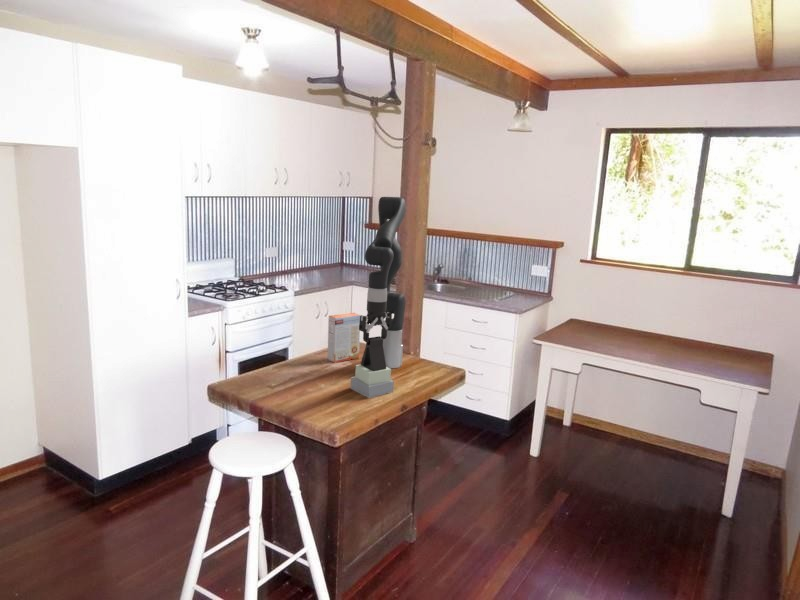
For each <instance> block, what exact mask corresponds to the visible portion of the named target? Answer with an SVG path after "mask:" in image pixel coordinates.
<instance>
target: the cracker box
mask: <svg viewBox="0 0 800 600" xmlns="http://www.w3.org/2000/svg"><path fill="white" fill-rule="evenodd" d="M360 316H361V314H359V313H356V312H349V313H341V314H334V315H328V325H327V326H328V327H327V328H328V329H327V330H328V331H327V333H328V334H327V360H328V361H330V362H331V363H335V362H336V363H339V362H346V361H350V360H351V359H352V360H356V359H359V358H360V339H361V331H360V330H359V323H360Z"/></svg>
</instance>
